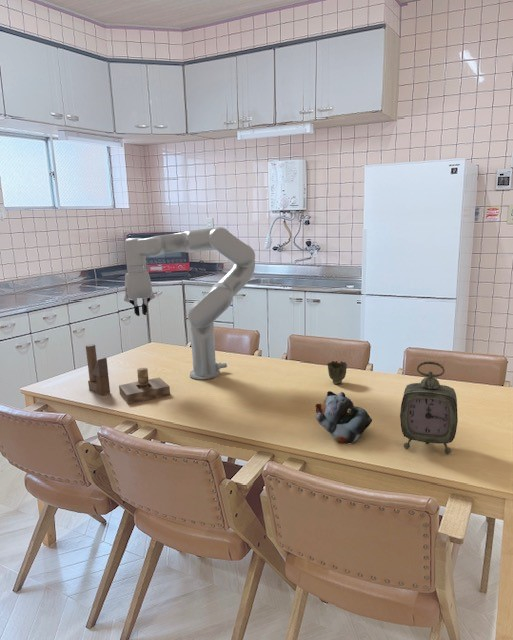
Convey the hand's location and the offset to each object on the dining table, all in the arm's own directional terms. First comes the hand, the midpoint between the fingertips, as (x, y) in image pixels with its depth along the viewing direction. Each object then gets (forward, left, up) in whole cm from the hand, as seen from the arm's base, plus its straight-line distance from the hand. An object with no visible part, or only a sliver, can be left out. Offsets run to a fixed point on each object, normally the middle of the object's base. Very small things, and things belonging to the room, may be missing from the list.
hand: (141, 314), depth 197 cm
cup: (-61, +49, -27) cm, 83 cm away
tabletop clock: (-50, +104, -27) cm, 119 cm away
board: (+6, +18, -27) cm, 33 cm away
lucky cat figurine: (-35, +85, -27) cm, 96 cm away
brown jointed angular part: (+20, +4, -27) cm, 34 cm away
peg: (+6, +18, -27) cm, 33 cm away
